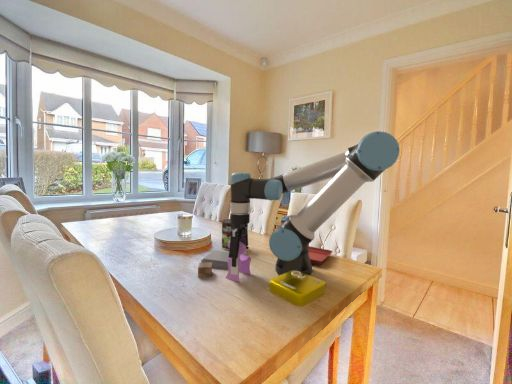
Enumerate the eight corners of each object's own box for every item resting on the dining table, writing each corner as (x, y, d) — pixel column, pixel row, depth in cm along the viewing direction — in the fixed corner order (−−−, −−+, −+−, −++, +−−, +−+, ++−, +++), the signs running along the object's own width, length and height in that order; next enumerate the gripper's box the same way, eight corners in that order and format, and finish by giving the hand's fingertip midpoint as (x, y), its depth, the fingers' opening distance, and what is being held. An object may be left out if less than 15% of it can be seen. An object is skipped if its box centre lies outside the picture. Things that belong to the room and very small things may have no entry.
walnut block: (211, 272, 109) (212, 262, 108) (211, 277, 104) (211, 267, 103) (199, 272, 108) (199, 262, 108) (198, 277, 103) (198, 267, 103)
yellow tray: (266, 291, 94) (267, 278, 93) (293, 279, 104) (293, 267, 104) (301, 309, 83) (302, 294, 83) (327, 293, 94) (328, 280, 93)
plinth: (239, 258, 124) (239, 252, 123) (229, 269, 111) (229, 262, 111) (213, 255, 127) (213, 249, 127) (201, 265, 115) (201, 258, 114)
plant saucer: (298, 250, 140) (298, 243, 140) (332, 256, 131) (333, 250, 131) (283, 260, 125) (283, 253, 124) (321, 268, 116) (321, 261, 115)
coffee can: (237, 251, 134) (238, 223, 132) (218, 249, 136) (218, 222, 135) (243, 245, 144) (244, 219, 142) (225, 243, 146) (225, 218, 145)
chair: (253, 274, 107) (254, 237, 105) (241, 282, 99) (242, 243, 98) (236, 269, 111) (236, 234, 109) (223, 277, 104) (223, 239, 102)
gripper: (239, 207, 114) (238, 258, 117) (219, 217, 93) (218, 279, 96) (256, 209, 112) (255, 260, 115) (240, 219, 91) (238, 282, 94)
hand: (238, 269), depth 105 cm, fingers closed on chair, 9 cm apart
